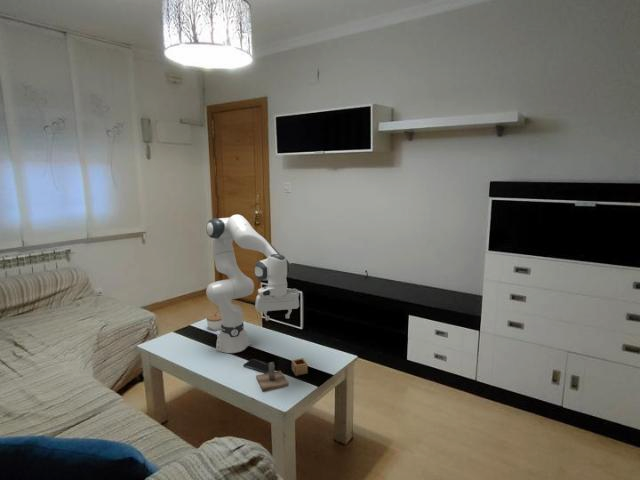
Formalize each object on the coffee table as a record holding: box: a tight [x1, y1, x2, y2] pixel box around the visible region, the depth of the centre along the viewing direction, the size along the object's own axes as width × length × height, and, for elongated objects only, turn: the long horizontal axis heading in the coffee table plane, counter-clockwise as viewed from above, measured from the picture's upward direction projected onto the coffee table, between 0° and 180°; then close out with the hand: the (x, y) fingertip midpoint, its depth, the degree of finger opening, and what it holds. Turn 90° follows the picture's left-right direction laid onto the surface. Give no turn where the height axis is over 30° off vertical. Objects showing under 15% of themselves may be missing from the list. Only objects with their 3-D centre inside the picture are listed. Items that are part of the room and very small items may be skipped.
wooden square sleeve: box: [291, 357, 309, 377], centre depth 191 cm, size 6×6×5 cm
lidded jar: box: [206, 312, 222, 331], centre depth 241 cm, size 11×11×9 cm
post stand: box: [255, 361, 289, 393], centre depth 181 cm, size 12×12×10 cm
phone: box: [242, 358, 276, 374], centre depth 196 cm, size 8×1×15 cm
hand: (277, 319), depth 182 cm, fingers open, 8 cm apart
